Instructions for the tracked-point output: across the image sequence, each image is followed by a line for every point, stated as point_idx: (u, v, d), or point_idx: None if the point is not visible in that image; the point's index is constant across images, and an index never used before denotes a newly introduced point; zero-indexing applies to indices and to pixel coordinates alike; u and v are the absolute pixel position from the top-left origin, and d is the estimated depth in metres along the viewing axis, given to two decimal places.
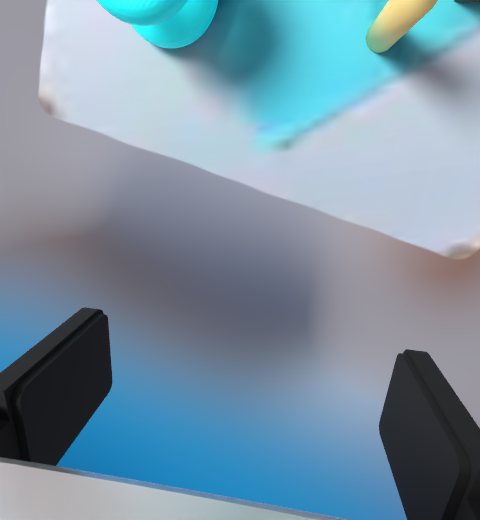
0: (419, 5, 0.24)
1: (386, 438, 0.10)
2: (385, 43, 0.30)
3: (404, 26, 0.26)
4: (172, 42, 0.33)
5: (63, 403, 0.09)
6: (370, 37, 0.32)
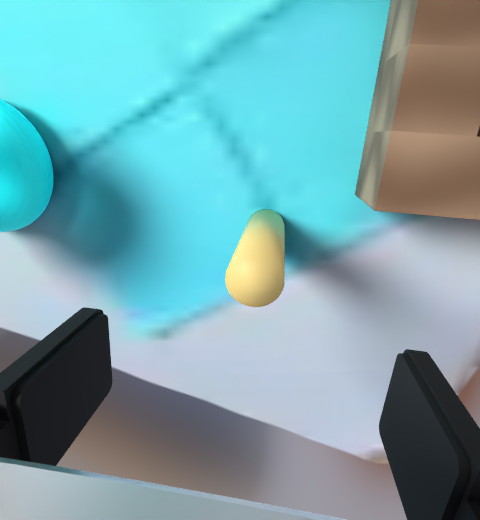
0: (257, 294, 0.16)
1: (386, 438, 0.10)
2: None
3: None
4: None
5: (63, 403, 0.09)
6: None
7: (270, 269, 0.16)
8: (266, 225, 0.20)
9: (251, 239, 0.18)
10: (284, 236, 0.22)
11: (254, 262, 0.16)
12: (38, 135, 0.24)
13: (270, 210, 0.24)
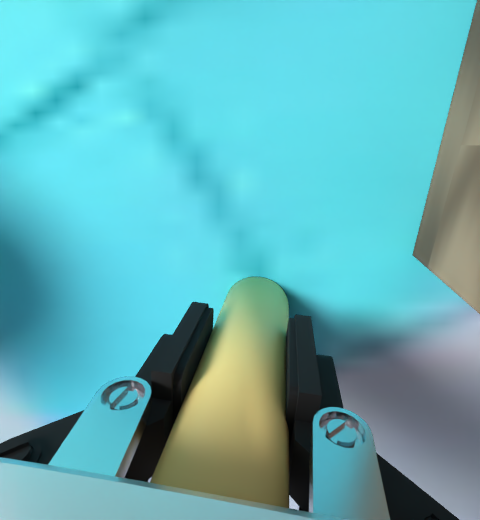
0: None
1: None
2: None
3: None
4: None
5: None
6: None
7: None
8: (252, 337, 0.10)
9: (208, 410, 0.07)
10: None
11: None
12: None
13: (264, 280, 0.14)
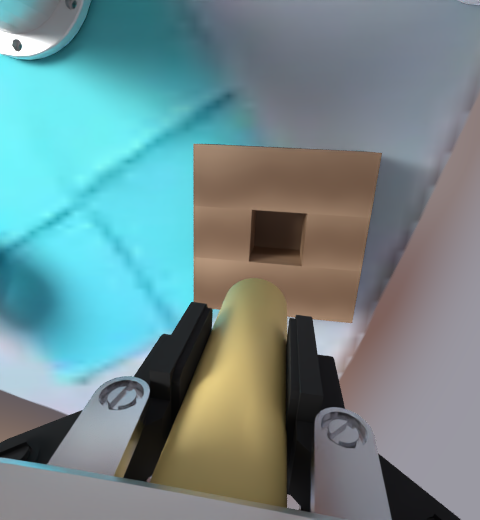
0: None
1: None
2: None
3: None
4: None
5: None
6: None
7: None
8: (250, 339, 0.10)
9: (207, 413, 0.07)
10: None
11: None
12: None
13: (262, 282, 0.14)
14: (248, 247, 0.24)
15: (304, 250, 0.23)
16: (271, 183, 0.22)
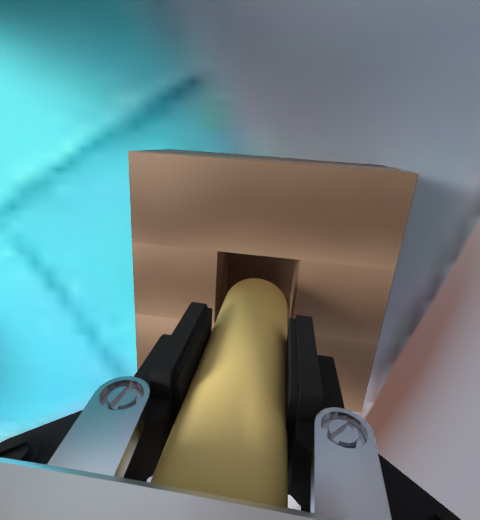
0: None
1: None
2: None
3: None
4: None
5: None
6: None
7: None
8: (251, 339, 0.10)
9: (208, 413, 0.07)
10: None
11: None
12: None
13: (263, 282, 0.14)
14: (213, 304, 0.16)
15: (294, 311, 0.16)
16: (246, 214, 0.15)
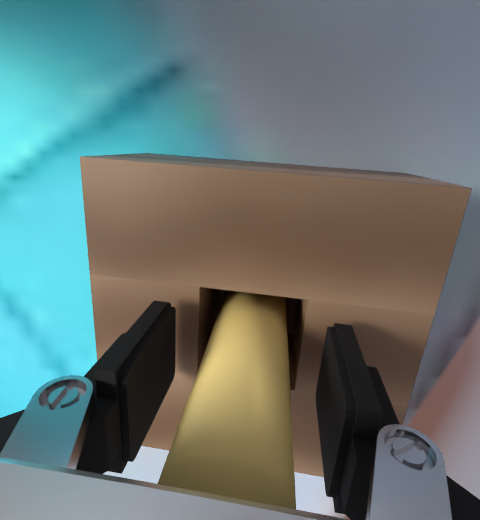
0: None
1: (318, 403, 0.11)
2: None
3: None
4: None
5: (148, 387, 0.10)
6: None
7: (262, 492, 0.06)
8: (256, 318, 0.11)
9: (223, 376, 0.08)
10: (286, 324, 0.13)
11: (223, 475, 0.06)
12: None
13: None
14: (195, 352, 0.13)
15: (300, 363, 0.12)
16: (236, 240, 0.11)
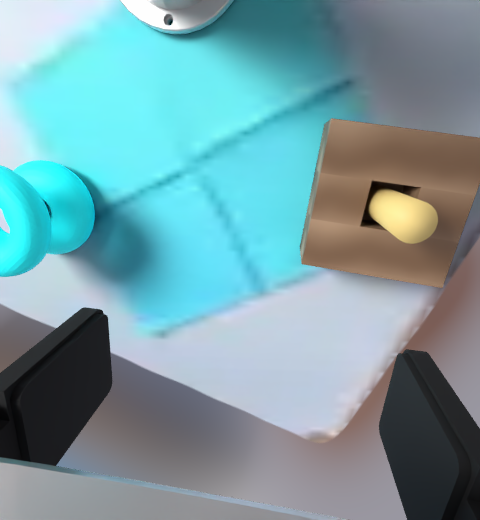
0: (414, 233, 0.22)
1: (386, 438, 0.10)
2: None
3: None
4: (51, 253, 0.37)
5: (63, 403, 0.09)
6: None
7: (428, 214, 0.21)
8: (398, 192, 0.26)
9: (402, 196, 0.23)
10: None
11: (417, 208, 0.21)
12: (88, 192, 0.35)
13: (383, 186, 0.30)
14: (362, 213, 0.28)
15: None
16: (393, 158, 0.26)
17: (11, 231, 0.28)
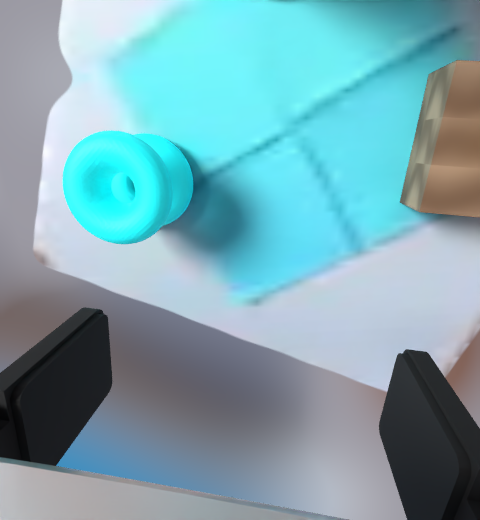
0: None
1: (386, 438, 0.10)
2: None
3: None
4: None
5: (63, 403, 0.09)
6: None
7: None
8: None
9: None
10: None
11: None
12: (187, 162, 0.36)
13: None
14: None
15: None
16: None
17: (140, 196, 0.29)
